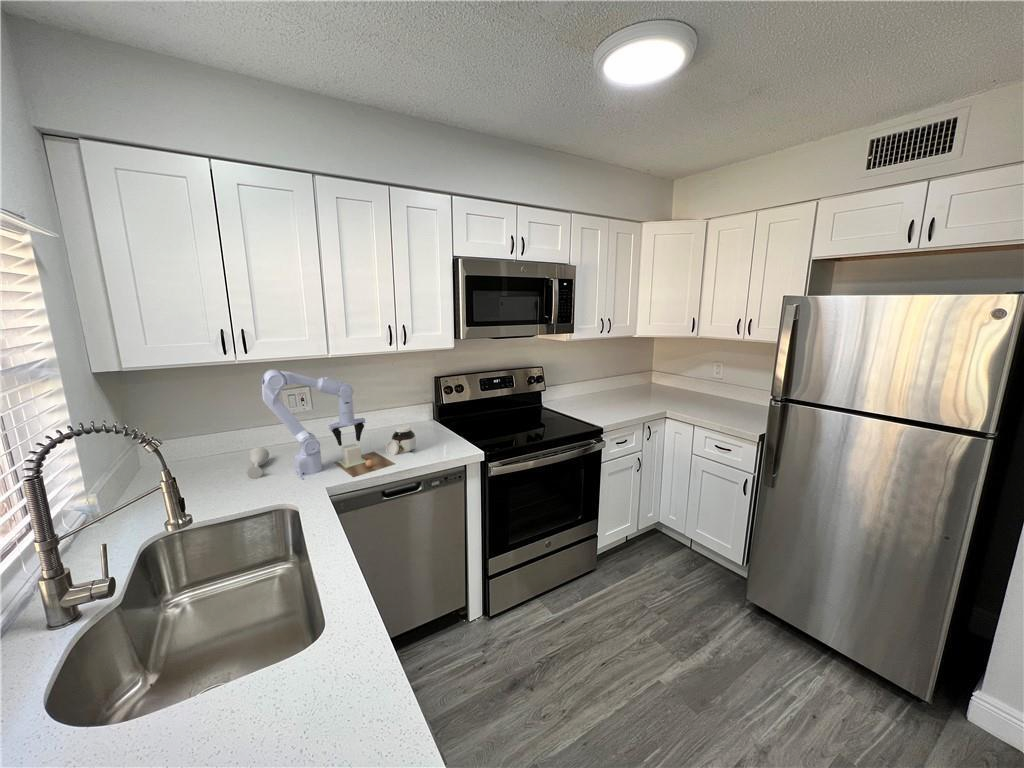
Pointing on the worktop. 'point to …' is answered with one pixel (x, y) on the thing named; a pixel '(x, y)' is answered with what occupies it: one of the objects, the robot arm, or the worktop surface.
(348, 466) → the sage pad
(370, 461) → the terracotta ball
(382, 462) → the walnut board
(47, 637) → the worktop surface
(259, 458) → the chalice
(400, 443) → the spread jar
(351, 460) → the rounded beige cube
